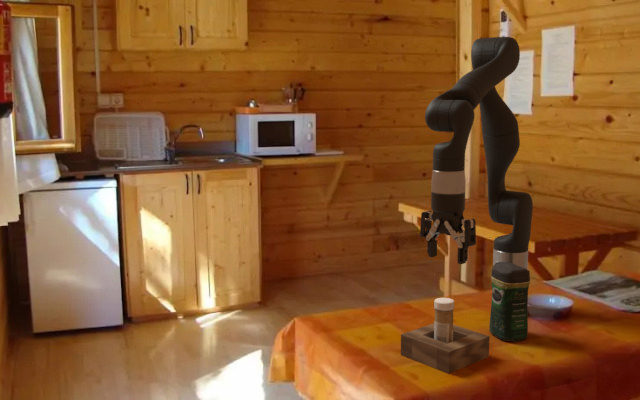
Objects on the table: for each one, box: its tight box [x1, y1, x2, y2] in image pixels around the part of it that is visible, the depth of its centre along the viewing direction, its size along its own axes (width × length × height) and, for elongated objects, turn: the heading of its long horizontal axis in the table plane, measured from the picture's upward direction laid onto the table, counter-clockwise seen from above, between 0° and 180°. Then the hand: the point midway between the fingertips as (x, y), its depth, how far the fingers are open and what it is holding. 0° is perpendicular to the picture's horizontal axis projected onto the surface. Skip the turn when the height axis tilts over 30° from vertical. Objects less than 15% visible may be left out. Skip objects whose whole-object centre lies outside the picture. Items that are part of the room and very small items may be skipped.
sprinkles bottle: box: [433, 297, 455, 344], centre depth 169 cm, size 5×5×13 cm
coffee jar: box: [488, 262, 531, 342], centre depth 180 cm, size 10×8×19 cm
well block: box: [400, 322, 491, 375], centre depth 169 cm, size 14×14×5 cm
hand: (446, 259), depth 165 cm, fingers open, 8 cm apart
